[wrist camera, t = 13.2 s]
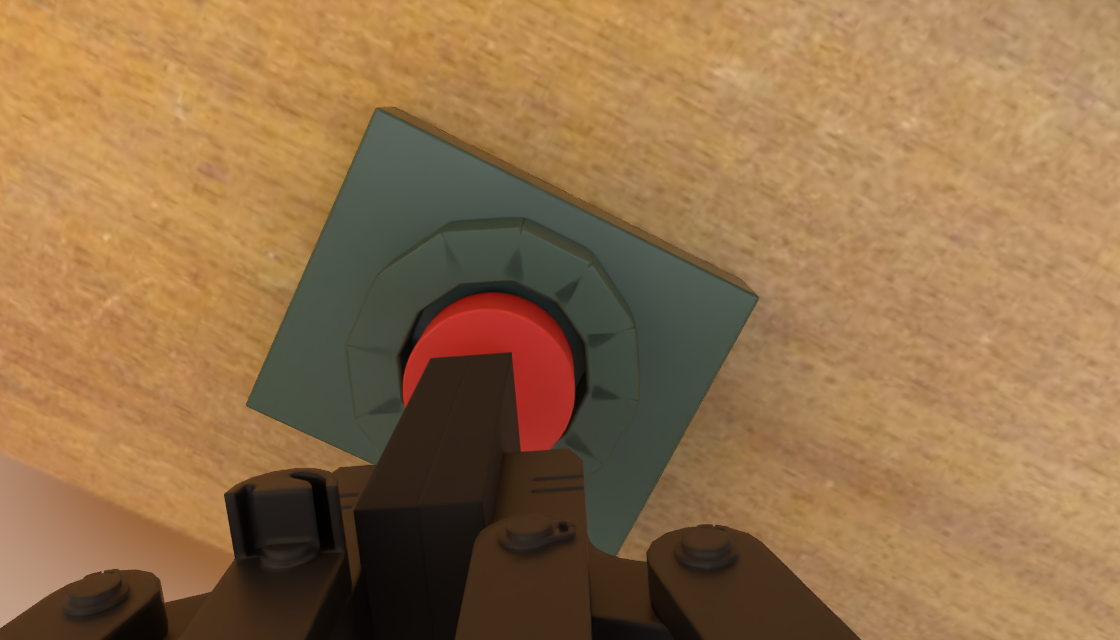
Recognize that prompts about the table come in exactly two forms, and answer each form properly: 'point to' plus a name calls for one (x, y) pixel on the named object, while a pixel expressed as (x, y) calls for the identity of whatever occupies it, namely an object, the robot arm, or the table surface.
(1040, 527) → the table surface
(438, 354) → the button
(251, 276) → the table surface
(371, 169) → the button box
